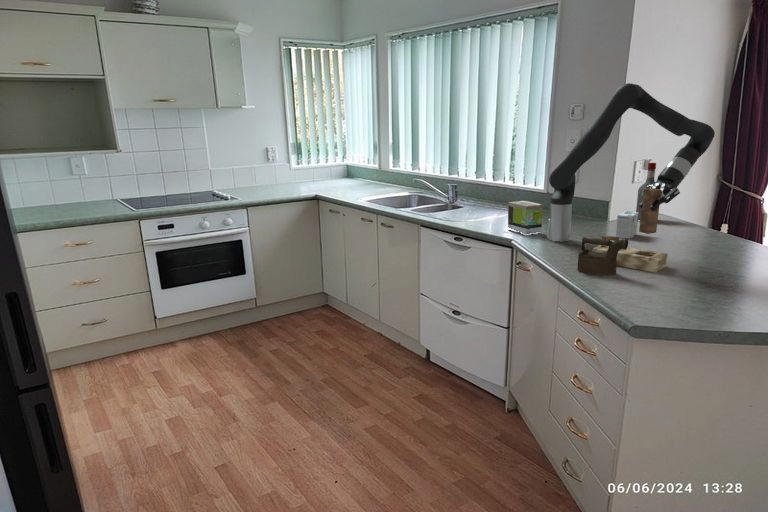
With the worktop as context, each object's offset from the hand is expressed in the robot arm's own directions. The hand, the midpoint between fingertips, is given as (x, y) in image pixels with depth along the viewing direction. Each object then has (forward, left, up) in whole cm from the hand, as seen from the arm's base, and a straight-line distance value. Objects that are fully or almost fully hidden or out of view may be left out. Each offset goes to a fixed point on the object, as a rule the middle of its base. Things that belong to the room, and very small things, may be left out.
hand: (646, 208), depth 181 cm
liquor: (-28, +81, -23) cm, 88 cm away
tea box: (-64, +23, -23) cm, 72 cm away
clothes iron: (-9, -15, -23) cm, 28 cm away
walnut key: (+1, +2, -9) cm, 9 cm away
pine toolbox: (-5, +2, -22) cm, 23 cm away
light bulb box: (-23, +44, -23) cm, 54 cm away
